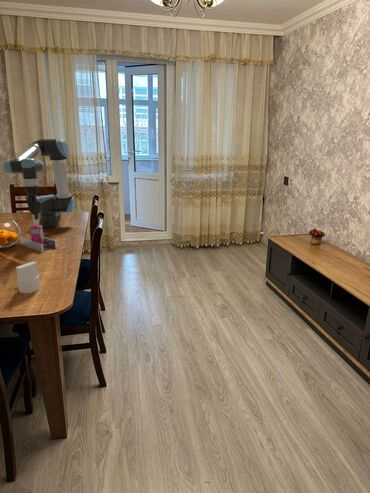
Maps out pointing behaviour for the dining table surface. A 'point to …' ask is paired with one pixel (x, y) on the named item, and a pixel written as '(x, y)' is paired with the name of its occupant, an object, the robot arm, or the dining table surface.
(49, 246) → the mounting rail
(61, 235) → the dining table surface
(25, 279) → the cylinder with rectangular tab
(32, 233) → the supplement box
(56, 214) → the food container
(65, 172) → the robot arm
